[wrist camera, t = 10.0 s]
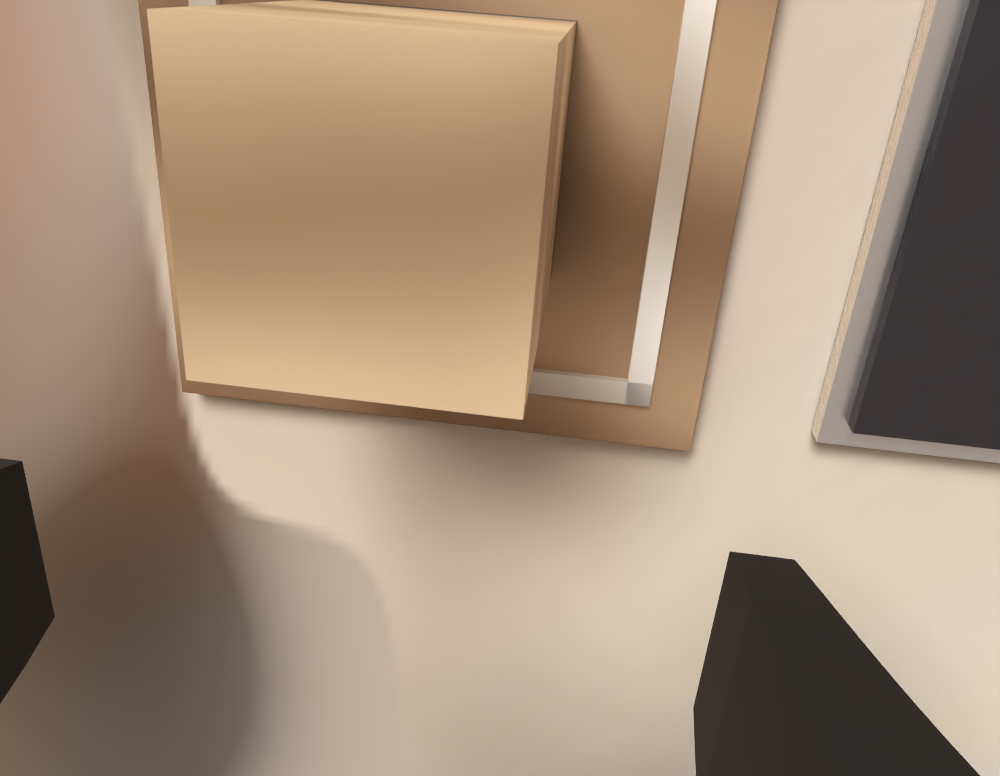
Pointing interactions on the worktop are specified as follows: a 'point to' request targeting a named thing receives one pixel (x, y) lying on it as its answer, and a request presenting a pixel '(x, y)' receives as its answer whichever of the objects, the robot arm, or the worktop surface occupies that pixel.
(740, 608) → the robot arm
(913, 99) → the pad
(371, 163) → the stamp
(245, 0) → the board
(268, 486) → the worktop surface
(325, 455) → the worktop surface
